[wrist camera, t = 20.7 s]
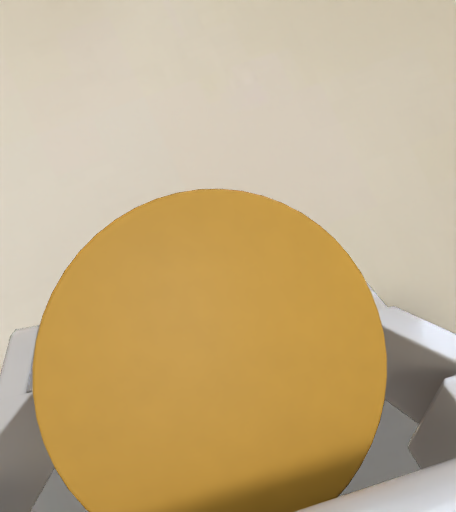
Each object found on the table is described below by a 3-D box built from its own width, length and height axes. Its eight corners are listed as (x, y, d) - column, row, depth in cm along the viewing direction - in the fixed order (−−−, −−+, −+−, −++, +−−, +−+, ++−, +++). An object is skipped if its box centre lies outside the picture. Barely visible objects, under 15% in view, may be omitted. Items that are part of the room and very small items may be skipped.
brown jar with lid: (273, 375, 13) (432, 478, 5) (137, 421, 12) (80, 627, 4) (237, 245, 13) (332, 157, 6) (103, 279, 13) (-6, 231, 5)
